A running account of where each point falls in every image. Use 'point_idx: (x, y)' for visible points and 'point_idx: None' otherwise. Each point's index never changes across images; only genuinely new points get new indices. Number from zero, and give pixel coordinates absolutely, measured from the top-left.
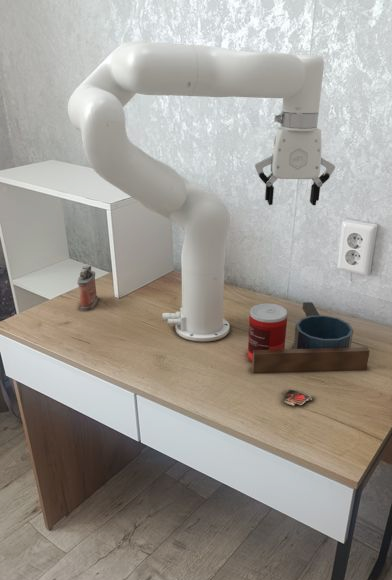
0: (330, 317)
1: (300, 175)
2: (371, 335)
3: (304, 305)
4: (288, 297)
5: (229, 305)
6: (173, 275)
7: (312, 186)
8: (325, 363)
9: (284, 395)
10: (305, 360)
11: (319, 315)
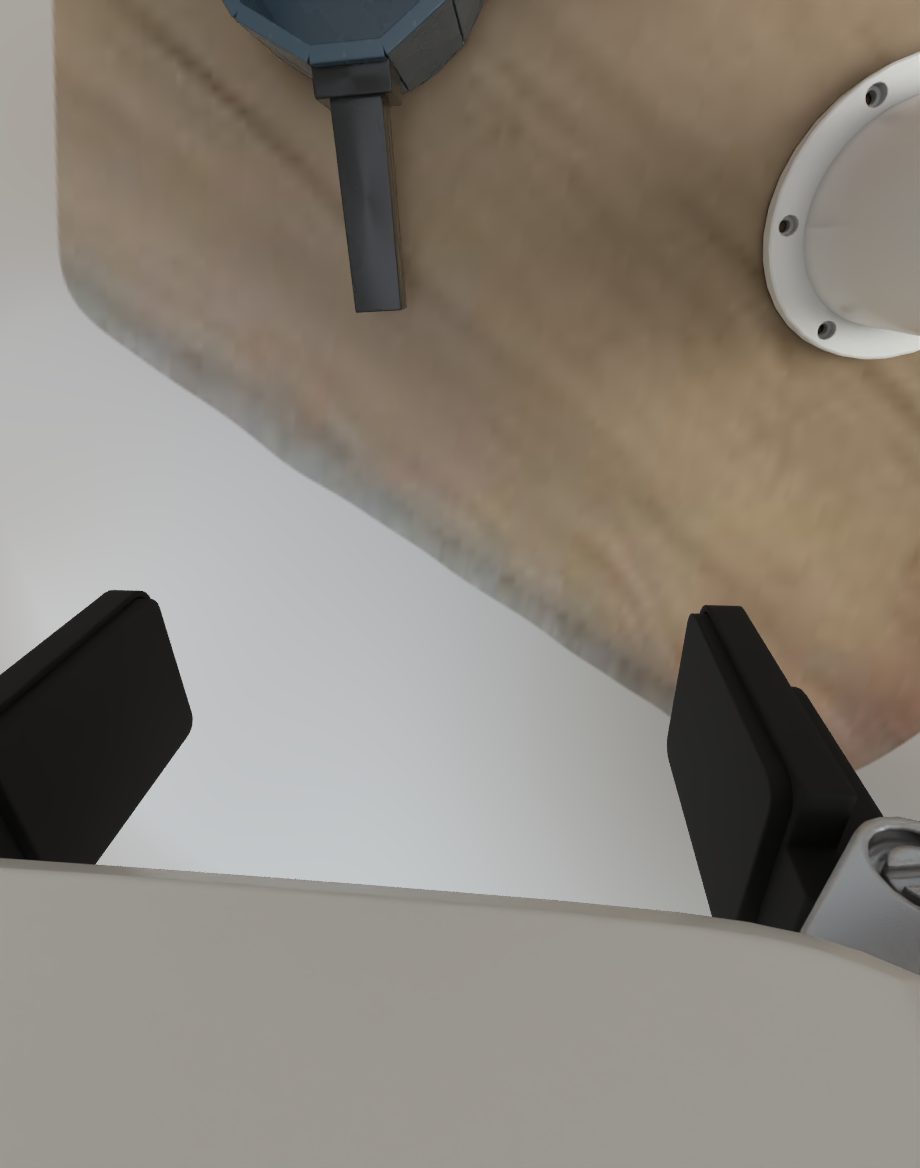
0: (276, 26)
1: (65, 947)
2: (123, 161)
3: (398, 272)
4: (437, 551)
5: (696, 484)
6: (852, 756)
7: (48, 848)
8: None
9: None
10: None
11: (335, 59)
